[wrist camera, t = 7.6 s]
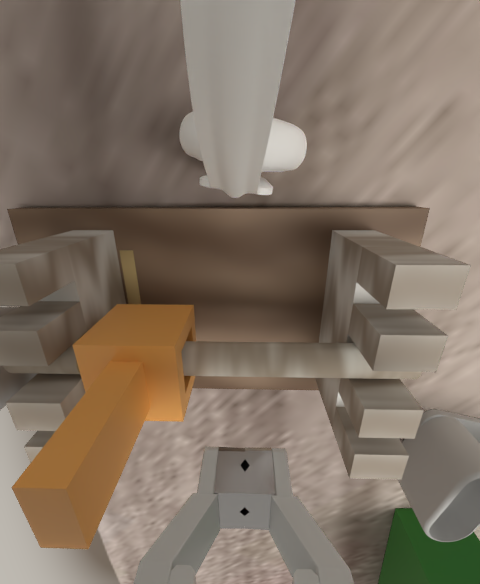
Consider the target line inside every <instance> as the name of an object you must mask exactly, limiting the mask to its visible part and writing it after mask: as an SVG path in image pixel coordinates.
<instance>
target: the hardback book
mask: <svg viewBox="0 0 480 584" xmlns="http://www.w3.org/2000/svg"><path fill="white" fill-rule="evenodd" d="M378 584H480V541H479V539H478V538H477V536H476V535H475V533H474V532H473V533H472V534H470V535H469V536H467V537H465V538H463V539H461V540H457V541H452V542H440V541H436V540H433V539H431V538H430V537H428V536H427V535H426V534H425V532H424V531H423V529H422V527H421V525H420V523H419V521H418V519H417V517H416V515H415V513H414V511H413V509H412V508H395V513H394V517H393V521H392V526H391V530H390V534H389V539H388V543H387V547H386V551H385V556H384V560H383V564H382V569H381V573H380V577H379V582H378Z"/></svg>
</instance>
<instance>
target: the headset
mask: <svg viewBox="0 0 480 584" xmlns="http://www.w3.org/2000/svg"><path fill="white" fill-rule="evenodd" d="M295 1H296V0H180V3H181V15H182V25H183V36H184V46H185V55H186V64H187V73H188V81H189V89H190V96H191V103H192V109H193V112H190V113H189V114H187V115H186V116H185V117H184V119H183V121H182V123H181V127H180V132H179V138H180V143H181V146H182V148H183V150H184V151H185V153H186V154H188V155H189V156H191V157H194V158H196V159H198V160H200V161H203V164H204V167H205V171H206V174H207V175H205V176H202V177H200V182H199V184H200V185H202V186H205V187H208V188H216V189H221V190H223V191H224V192H225V193H226V194H227V195H228V196H230V197H232V198H239V197H241V196H242V195H244V194H247V193H251V194H258V195H271V194H272V191H273V186H272V185H271V184H270V183H269V182H268V181H267V180H266V179H265V178H263V177H261V172H284V171H291V170H294V169H296V168H298V167H299V166H300V164H301V163H302V162H303V160H304V158H305V155H306V150H307V141H306V136H305V134H304V132H303V131H302V130H301V129H300V128H299V127H297V126H295V125H293V124H291V123H288V122H286V121H283V120H279V119H276V118H273V116H274V111H275V106H276V101H277V96H278V91H279V86H280V80H281V75H282V70H283V65H284V60H285V54H286V49H287V44H288V39H289V33H290V28H291V23H292V17H293V12H294V6H295Z"/></svg>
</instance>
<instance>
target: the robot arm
mask: <svg viewBox="0 0 480 584" xmlns="http://www.w3.org/2000/svg"><path fill="white" fill-rule="evenodd" d="M244 526H245V529H261V530H269V532H270V534H271V536H272V538H273V540H274V542H275V544H276V546H277V548H278V550H279V552H280V554H281V556H282V558H283V560H284V561H285V563H286V565H287V567H288V569H289V571H290V573H291V575H292V577H293V582H292V584H354V582H353V578H352V574H351V570H350V568H349V567H348V566H347V564H346V563H345V562H344V560H343V559H342V557H341V556H340V555H339V553H338V552H337V551H336V549H335V548H334V546H333V545H332V544H331V542H330V541H329V539H328V538H327V537H326V535H325V534H324V533H323V531H322V530H321V528H320V527H319V526H318V524H317V523H316V522H315V520H314V519H313V517H312V516H311V515H310V513H309V512H308V510H307V509H306V508H305V506H304V505H303V504H302V502H301V501H300V499H299V498H298V497H297V496H293V493H292V486H291V479H290V473H289V466H288V459H287V452H286V450H285V448H272V449H271V448H229V447H205V450H204V454H203V460H202V466H201V472H200V478H199V484H198V490H197V493H193V494H192V495H191V496H190V497H189V499H188V500H187V501H186V503H185V504H184V505H183V506H182V508H181V509H180V510H179V512H178V513H177V514H176V516H175V517H174V518H173V519H172V521H171V522H170V523H169V525H168V526H167V527H166V528H165V530H164V531H163V532H162V534H161V535H160V536H159V537H158V539H157V540H156V541H155V543H154V544H153V545H152V547H151V548H150V549H149V550H148V552H147V553H146V554H145V556H144V557H143V558H142V559H141V561H140V563H139V566H138V570H137V573H136V577H135V580H134V584H196V577H195V575H196V573H197V571H198V569H199V567H200V566H201V564H202V562H203V560H204V558H205V557H206V555H207V553H208V551H209V549H210V547H211V546H212V544H213V542H214V540H215V538H216V536H217V535H218V533H219V531H220V528H244Z"/></svg>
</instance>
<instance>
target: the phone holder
mask: <svg viewBox="0 0 480 584" xmlns="http://www.w3.org/2000/svg"><path fill="white" fill-rule="evenodd" d="M402 444H403V446H404V448H405V449H406V451H407V453H408V455H409V458H408V461H407V464H406V467H405V470H404V473H403V476H402V479H401V480H398V481H399V483H400V485H401V487H402V489H403V491H404V493H405V495H406V497H407V499H408V501H409V503H410V505H411V507H412V509H413V511H414V513H415V515H416V517H417V519H418V521H419V523H420V525H421V527H422V529H423V531H424V532H425V534H426V535H427V536H428V537H430V538H431V539H433V540H436V541H440V542H452V541H457V540H461V539H463V538H465V537H467V536H469V535H470V534H472V533H473V532H474V531H475V529H476V528H477V527H478V526H479V525H480V418H475V417H470V416H466V415H461V414H456V413H452V412H447V411H442V410H437V409H432V410H428V411H425V412H424V413H423V415H422V418H421V421H420V424H419V427H418V430H417V433H416V436H415V439H406V438H405V439H404V440H403V442H402Z"/></svg>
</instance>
